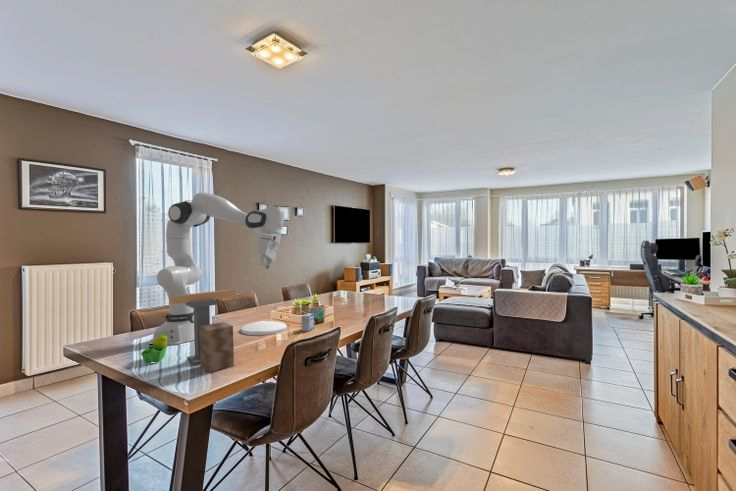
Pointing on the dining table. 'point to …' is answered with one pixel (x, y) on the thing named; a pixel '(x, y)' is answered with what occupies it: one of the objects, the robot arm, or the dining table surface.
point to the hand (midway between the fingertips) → (264, 267)
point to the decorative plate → (263, 328)
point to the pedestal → (216, 346)
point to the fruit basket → (155, 350)
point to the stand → (199, 324)
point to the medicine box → (308, 322)
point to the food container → (318, 314)
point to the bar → (201, 296)
